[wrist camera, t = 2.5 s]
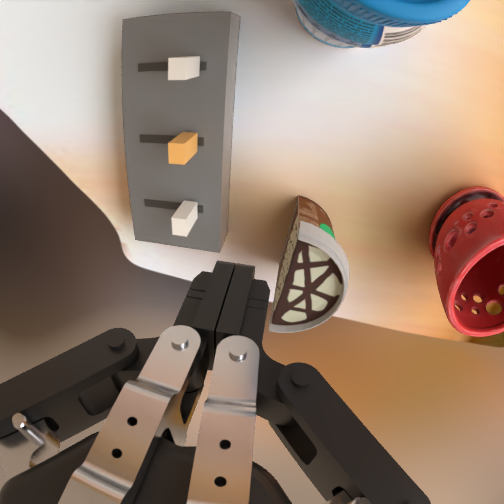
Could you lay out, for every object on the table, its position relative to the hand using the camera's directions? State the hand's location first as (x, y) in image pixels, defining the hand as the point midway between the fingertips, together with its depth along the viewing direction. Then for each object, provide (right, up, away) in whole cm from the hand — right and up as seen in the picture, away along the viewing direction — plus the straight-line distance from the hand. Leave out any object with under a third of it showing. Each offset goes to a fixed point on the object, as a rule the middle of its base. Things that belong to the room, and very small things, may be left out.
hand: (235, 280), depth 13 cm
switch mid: (-5, +11, +15) cm, 19 cm away
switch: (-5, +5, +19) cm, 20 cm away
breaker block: (-6, +14, +18) cm, 24 cm away
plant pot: (+26, +4, +19) cm, 33 cm away
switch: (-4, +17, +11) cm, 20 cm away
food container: (+8, +3, +24) cm, 25 cm away
